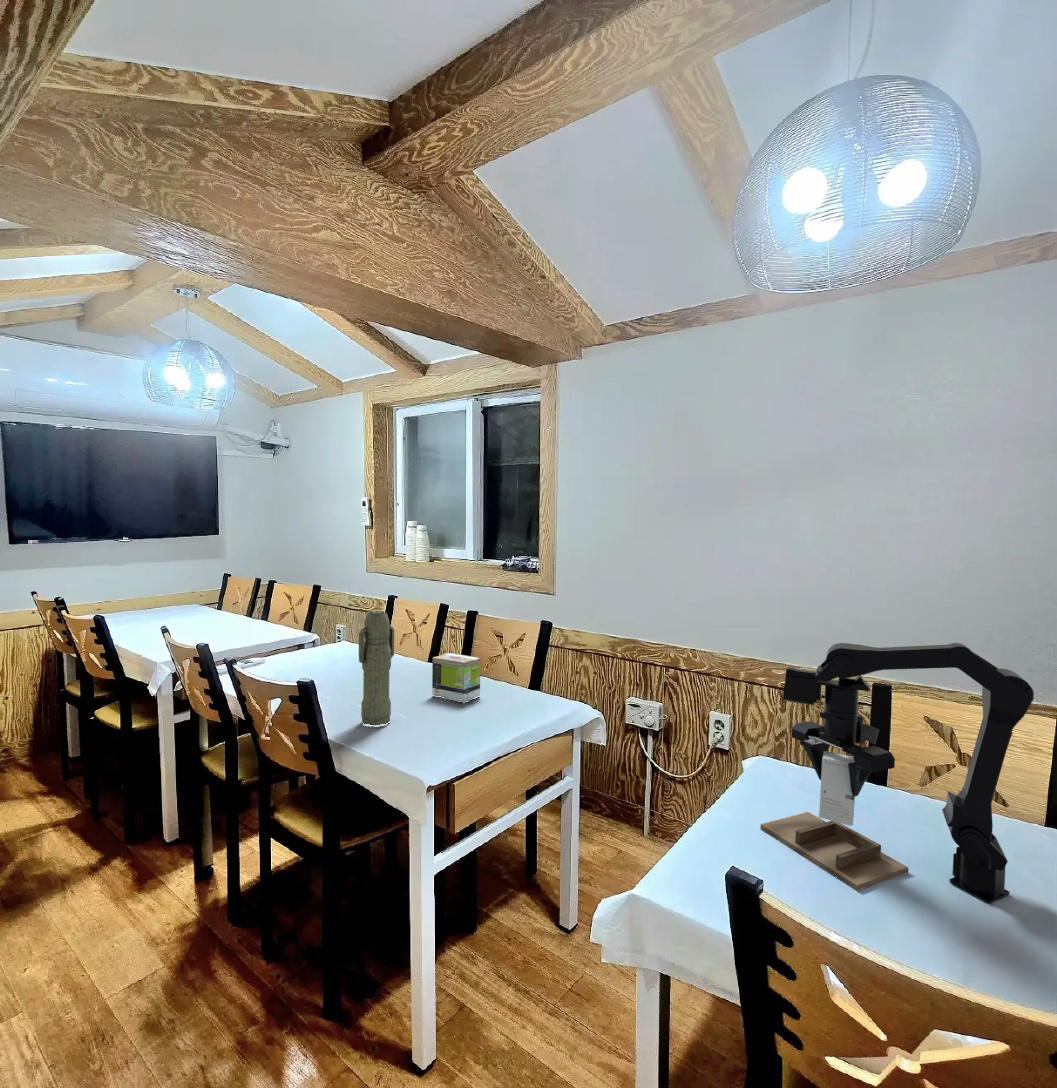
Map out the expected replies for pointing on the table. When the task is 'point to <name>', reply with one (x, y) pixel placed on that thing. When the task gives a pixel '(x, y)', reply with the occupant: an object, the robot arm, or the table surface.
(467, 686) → the tea box
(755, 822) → the table surface
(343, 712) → the table surface
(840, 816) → the skincare box
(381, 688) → the olive robed figurine
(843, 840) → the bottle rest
